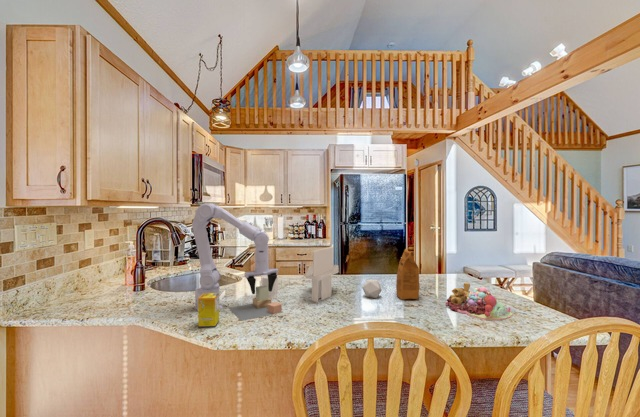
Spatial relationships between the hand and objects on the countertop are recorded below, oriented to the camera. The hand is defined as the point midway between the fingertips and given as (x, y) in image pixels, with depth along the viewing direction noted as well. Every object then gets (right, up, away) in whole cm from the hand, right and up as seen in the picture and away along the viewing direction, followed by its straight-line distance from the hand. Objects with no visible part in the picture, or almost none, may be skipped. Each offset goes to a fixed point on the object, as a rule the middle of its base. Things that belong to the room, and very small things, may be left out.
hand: (261, 292), depth 133 cm
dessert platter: (+91, -7, -3) cm, 91 cm away
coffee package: (+66, -6, +14) cm, 68 cm away
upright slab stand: (+25, -6, +16) cm, 31 cm away
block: (+6, -6, -7) cm, 11 cm away
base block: (0, -6, 0) cm, 6 cm away
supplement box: (-15, -7, -20) cm, 26 cm away
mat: (-2, -6, -5) cm, 8 cm away
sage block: (0, -3, 0) cm, 3 cm away
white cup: (+1, -6, +13) cm, 14 cm away
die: (+49, -6, +14) cm, 52 cm away
